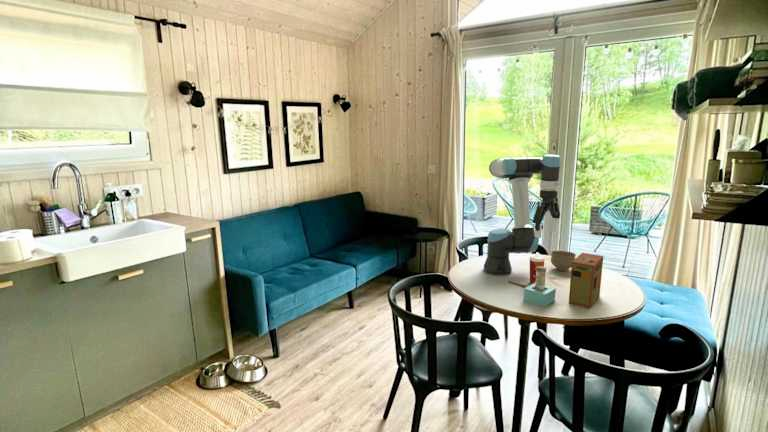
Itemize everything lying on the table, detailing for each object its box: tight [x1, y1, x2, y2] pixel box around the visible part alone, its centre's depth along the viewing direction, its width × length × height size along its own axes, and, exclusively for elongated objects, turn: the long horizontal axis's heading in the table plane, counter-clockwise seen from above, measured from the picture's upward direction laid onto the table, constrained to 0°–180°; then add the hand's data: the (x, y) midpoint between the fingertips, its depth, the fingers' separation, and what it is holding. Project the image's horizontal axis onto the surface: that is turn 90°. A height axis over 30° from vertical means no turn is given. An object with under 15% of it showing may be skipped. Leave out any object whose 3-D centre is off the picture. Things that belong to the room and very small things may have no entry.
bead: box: [523, 283, 557, 308], centre depth 187 cm, size 10×10×6 cm
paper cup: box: [528, 254, 546, 285], centre depth 207 cm, size 8×8×14 cm
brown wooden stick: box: [507, 280, 529, 288], centre depth 206 cm, size 10×1×1 cm, turn 41°
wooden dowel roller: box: [535, 266, 547, 292], centre depth 186 cm, size 4×4×16 cm
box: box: [568, 252, 604, 310], centre depth 184 cm, size 17×9×20 cm, turn 140°
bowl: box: [550, 250, 577, 272], centre depth 226 cm, size 13×13×10 cm
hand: (545, 234), depth 189 cm, fingers open, 13 cm apart
